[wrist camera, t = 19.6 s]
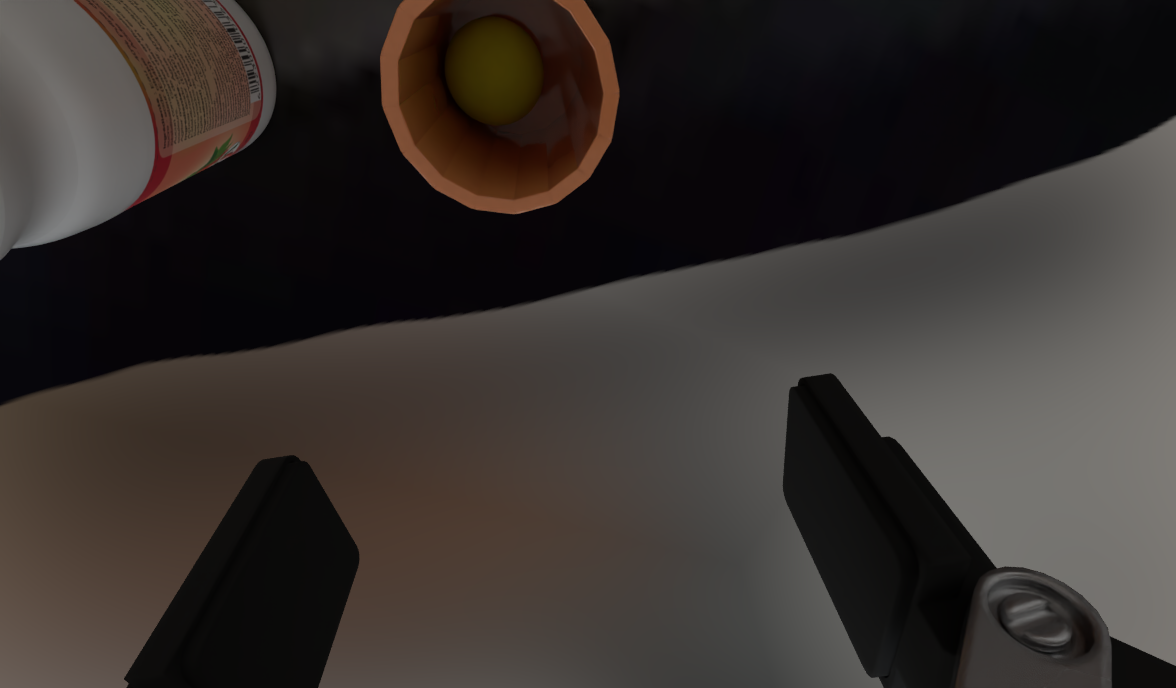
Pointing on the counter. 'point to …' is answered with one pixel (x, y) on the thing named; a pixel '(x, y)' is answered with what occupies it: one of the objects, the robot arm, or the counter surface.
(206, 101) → the fruit juice
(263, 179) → the counter surface
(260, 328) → the counter surface
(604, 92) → the tube
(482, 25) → the ball
